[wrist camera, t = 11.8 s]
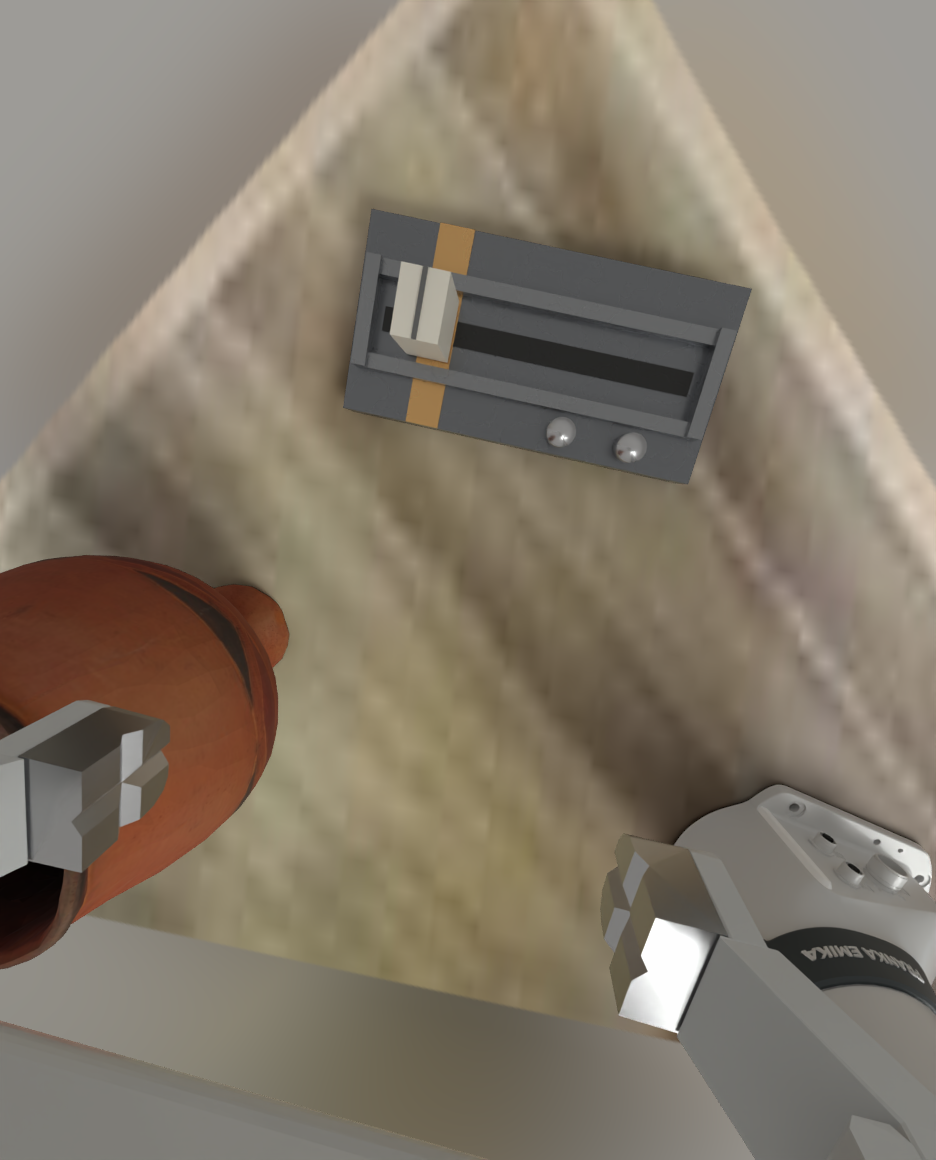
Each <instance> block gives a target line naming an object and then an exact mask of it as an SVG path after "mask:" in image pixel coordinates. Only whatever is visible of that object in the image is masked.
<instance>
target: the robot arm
mask: <svg viewBox="0 0 936 1160" xmlns="http://www.w3.org/2000/svg"><path fill="white" fill-rule="evenodd" d="M169 742H170V725H169V724H168V723H167V722H166V721H164V720H162V719H159V718H155V717H151V716H148V715H144V714H140V713H137V712H133V711H129V710H125V709H122V708H118V707H114V706H109V705H106V704H102V703H98V702H94V701H90V700H78V701H75V702H73V703H71V704H69V705H67V706H65V707H63V708H61V709H59V710H57V711H55V712H53V713H51V714H50V715H48V716H46V717H44V718H42V719H40V720H38V721H36V722H34V723H32V724H30V725H28V726H26V727H24V728H22V729H21V730H19V731H17V732H15V733H13V734H11V735H9V736H7V737H5V738H3V739H1V740H0V877H1V876H4V875H6V874H8V873H10V872H12V871H14V870H16V869H18V868H20V867H22V866H25V865H27V864H28V861H32V862H36V863H40V864H45V865H49V866H54V867H58V868H62V869H67V870H71V871H75V872H80V873H82V872H83V871H84V870H86V869H87V868H88V867H89V866H90V865H91V864H92V863H93V862H94V861H95V860H96V859H97V858H99V857H100V856H101V855H102V854H103V853H104V852H105V851H106V850H107V849H108V848H109V847H111V846H112V845H113V844H114V843H115V842H116V841H117V840H118V837H119V831H120V827H122V826H124V825H127V824H129V823H132V822H134V821H137V820H139V819H141V818H142V817H143V816H144V815H145V814H146V813H147V812H148V811H149V810H150V809H151V808H152V807H153V806H154V804H155V803H156V801H157V800H158V798H159V796H160V795H161V793H162V792H163V790H164V787H165V784H166V781H167V778H168V770H169V763H168V761H167V760H166V758H165V756H164V754H163V753H162V751H161V750H162V749H163V748H164V747H165V746H166V745H167V744H168V743H169ZM793 803H794V804H793ZM791 804H793V805H792V806H790V805H791ZM615 856H616V860H617V864H618V867H616V868H615V869H613V870H612V871H610V872H609V873H607V876H606V879H605V883H604V886H603V889H602V898H601V908H600V909H601V925H602V930H603V936H604V939H605V941H606V942H607V943H608V945H609V946H610V947H611V949H612V950H613V952H614V956H613V958H612V961H611V964H610V967H609V969H610V974H611V979H612V984H613V989H614V994H615V999H616V1005H617V1010H618V1015H619V1016H622V1017H626V1018H629V1019H632V1020H636V1021H639V1022H642V1023H646V1024H649V1025H652V1026H656V1027H659V1028H662V1029H666V1030H669V1031H672V1032H676V1033H678V1035H677V1038H678V1039H679V1041H680V1042H681V1044H682V1045H683V1047H684V1049H685V1050H686V1051H687V1053H688V1055H689V1056H690V1058H691V1059H692V1061H693V1063H694V1064H695V1066H696V1067H697V1069H698V1070H699V1072H700V1074H701V1075H702V1077H703V1078H704V1080H705V1081H706V1083H707V1085H708V1086H709V1088H710V1089H711V1091H712V1092H713V1094H714V1095H715V1097H716V1099H717V1100H718V1102H719V1103H720V1105H721V1106H722V1108H723V1110H724V1111H725V1113H726V1114H727V1116H728V1117H729V1119H730V1120H731V1122H732V1124H733V1125H734V1126H735V1128H736V1130H737V1131H738V1133H739V1135H740V1136H741V1138H742V1139H743V1141H744V1143H745V1144H746V1146H747V1147H748V1149H749V1150H750V1152H751V1153H752V1155H753V1157H754V1158H755V1160H936V995H935V993H934V991H933V989H932V987H931V985H932V983H933V981H934V979H935V977H936V902H935V901H934V900H933V899H932V897H931V896H930V895H929V894H928V893H929V889H930V885H931V879H932V866H931V860H930V857H929V855H928V853H927V852H926V851H925V850H924V849H923V848H922V847H921V846H920V845H919V844H917V843H915V842H913V841H911V840H908V839H906V838H904V837H902V836H899V835H897V834H895V833H892V832H890V831H888V830H886V829H883V828H881V827H879V826H876V825H874V824H872V823H870V822H867V821H865V820H863V819H860V818H858V817H856V816H854V815H851V814H849V813H847V812H844V811H842V810H840V809H838V808H835V807H833V806H831V805H828V804H826V803H824V802H822V801H819V800H817V799H815V798H812V797H810V796H808V795H806V794H803V793H801V792H799V791H796V790H794V789H792V788H790V787H787V786H784V785H774V786H771V787H769V788H767V789H765V790H763V791H762V792H760V793H759V794H757V795H756V796H754V797H753V798H751V799H750V800H748V801H746V802H744V803H741V804H737V805H734V806H730V807H726V808H723V809H720V810H717V811H714V812H712V813H710V814H708V815H706V816H704V817H702V818H701V819H699V820H698V821H696V822H695V823H693V824H692V825H691V826H690V827H689V828H687V829H686V830H685V831H684V832H683V834H682V835H681V836H680V837H679V838H678V840H677V841H676V843H675V844H674V845H670V844H666V843H662V842H658V841H654V840H650V839H645V838H641V837H637V836H633V835H629V834H625V833H624V834H623V835H622V836H621V838H620V839H619V841H618V844H617V846H616V849H615ZM0 1160H489V1159H485V1158H481V1157H478V1156H474V1155H470V1154H467V1153H464V1152H460V1151H457V1150H453V1149H450V1148H446V1147H443V1146H439V1145H436V1144H432V1143H429V1142H425V1141H422V1140H418V1139H414V1138H411V1137H407V1136H404V1135H400V1134H397V1133H393V1132H390V1131H386V1130H383V1129H379V1128H376V1127H372V1126H369V1125H365V1124H361V1123H358V1122H355V1121H351V1120H348V1119H344V1118H340V1117H337V1116H333V1115H330V1114H326V1113H323V1112H319V1111H316V1110H312V1109H308V1108H305V1107H302V1106H298V1105H295V1104H291V1103H288V1102H284V1101H281V1100H277V1099H274V1098H270V1097H267V1096H263V1095H260V1094H256V1093H253V1092H249V1091H246V1090H242V1089H238V1088H234V1087H231V1086H228V1085H224V1084H221V1083H217V1082H214V1081H210V1080H207V1079H203V1078H200V1077H196V1076H193V1075H189V1074H186V1073H182V1072H179V1071H175V1070H172V1069H168V1068H165V1067H161V1066H157V1065H154V1064H150V1063H147V1062H144V1061H140V1060H136V1059H133V1058H129V1057H126V1056H122V1055H119V1054H115V1053H112V1052H108V1051H105V1050H101V1049H98V1048H94V1047H91V1046H87V1045H83V1044H80V1043H76V1042H73V1041H70V1040H66V1039H63V1038H59V1037H56V1036H52V1035H49V1034H45V1033H42V1032H38V1031H35V1030H31V1029H28V1028H24V1027H21V1026H17V1025H14V1024H10V1023H7V1022H3V1021H0Z"/></svg>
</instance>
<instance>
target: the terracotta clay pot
mask: <svg viewBox="0 0 936 1160" xmlns="http://www.w3.org/2000/svg"><path fill="white" fill-rule="evenodd" d="M288 640H289V632H288V628H287V625H286V622H285V619H284V616H283V612H282V610H281V609H280V607H279V606H278V604H277V603H276V602H275V601H274V600H273V599H272V598H270V597H269V596H267V595H266V594H264V593H262V592H260V591H259V590H257V589H255V588H254V587H251V586H243V585H235V584H232V585H227V586H221V587H217V588H212V587H211V586H209V585H207V584H206V583H204V582H203V581H201V580H199V579H197V578H196V577H194V576H192V575H189V574H187V573H185V572H182V571H180V570H178V569H175V568H172V567H169V566H167V565H163V564H159V563H154V562H150V561H144V560H139V559H134V558H128V557H119V556H96V555H82V556H73V557H60V558H53V559H46V560H41V561H37V562H33V563H30V564H26V565H22V566H20V567H17V568H14V569H11V570H8V571H5V572H3V573H0V740H1V739H3V738H5V737H7V736H9V735H11V734H13V733H15V732H17V731H19V730H21V729H22V728H24V727H26V726H28V725H30V724H32V723H34V722H36V721H38V720H40V719H42V718H44V717H46V716H48V715H50V714H51V713H53V712H55V711H57V710H59V709H61V708H63V707H65V706H67V705H69V704H71V703H73V702H75V701H78V700H90V701H94V702H98V703H102V704H106V705H109V706H114V707H118V708H122V709H125V710H129V711H133V712H137V713H140V714H144V715H148V716H151V717H155V718H159V719H162V720H164V721H166V722H167V723H168V724H169V725H170V742H169V743H168V744H167V745H166V746H165V747H164V748H163V749H162V750H161V751H162V753H163V754H164V756H165V758H166V760H167V761H168V763H169V770H168V778H167V781H166V784H165V787H164V790H163V792H162V793H161V795H160V796H159V798H158V800H157V801H156V803H155V804H154V806H153V807H152V808H151V809H150V810H149V811H148V812H147V813H146V814H145V815H144V816H143V817H142V818H141V819H139V820H137V821H134V822H132V823H129V824H127V825H124V826H122V827H120V831H119V837H118V840H117V841H116V842H115V843H114V844H113V845H112V846H111V847H109V848H108V849H107V850H106V851H105V852H104V853H103V854H102V855H101V856H100V857H99V858H97V859H96V860H95V861H94V862H93V863H92V864H91V865H90V866H89V867H88V868H87V869H86V870H84V871H83V872H82V873H80V872H75V871H71V870H67V869H62V868H58V867H54V866H49V865H45V864H40V863H36V862H32V861H28V864H27V865H25V866H22V867H20V868H18V869H16V870H14V871H12V872H10V873H8V874H6V875H4V876H1V877H0V969H5V968H9V967H12V966H15V965H17V964H20V963H23V962H26V961H29V960H31V959H33V958H35V957H37V956H38V955H40V954H41V953H43V952H44V951H46V950H47V949H49V948H50V947H52V946H53V945H54V944H55V943H56V942H57V941H58V940H59V939H60V938H62V937H63V935H64V934H65V933H66V931H67V930H68V928H69V927H70V924H72V923H74V922H75V921H77V920H78V919H80V918H81V917H83V916H85V915H86V914H88V913H89V912H91V911H92V910H94V909H96V908H97V907H99V906H100V905H102V904H103V903H105V902H106V901H108V900H110V899H111V898H113V897H115V896H117V895H119V894H121V893H122V892H124V891H126V890H128V889H130V888H132V887H133V886H135V885H137V884H139V883H141V882H143V881H144V880H146V879H148V878H150V877H152V876H154V875H155V874H157V873H159V872H161V871H162V870H163V869H165V868H166V867H168V866H169V865H170V864H172V863H173V862H175V861H176V860H178V859H179V858H180V857H182V856H183V855H185V854H186V853H187V852H189V851H190V850H192V849H193V848H194V847H196V846H197V845H199V844H200V843H202V842H203V841H204V840H206V839H207V838H208V837H209V836H210V835H211V834H212V833H213V832H214V831H215V830H216V829H217V828H218V827H220V826H221V825H222V824H223V823H224V822H225V821H226V820H227V819H228V818H229V817H230V816H231V815H232V814H233V813H234V812H235V811H237V810H238V809H239V807H240V806H241V805H242V804H243V802H244V801H245V800H246V798H247V797H248V796H249V794H250V793H251V791H252V790H253V789H254V787H255V786H256V784H257V782H258V780H259V779H260V777H261V775H262V773H263V771H264V769H265V767H266V765H267V763H268V760H269V758H270V756H271V753H272V749H273V745H274V741H275V736H276V730H277V725H278V693H277V686H276V678H275V675H274V672H273V669H272V668H273V667H274V666H275V665H276V664H277V663H278V662H279V661H280V660H281V659H282V658H283V655H284V653H285V651H286V648H287V646H288Z"/></svg>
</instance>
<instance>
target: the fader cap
mask: <svg viewBox="0 0 936 1160" xmlns="http://www.w3.org/2000/svg"><path fill="white" fill-rule="evenodd" d="M458 305H459V299H458V295H457V292H456V288H455V285H454V281H453V277H452V274H451V272H449V271H445V270H440V269H435V268H431V267H428V266H425V265H423V266H421V265H416V264H412V263H407V262H402V261H401V267H400V273H399V279H398V285H397V291H396V298H395V304H394V310H393V316H392V323H391V329H390V335H391V336H392V338H393V339H394V340H395V341H396V342H397V343H398V345H399V346H400V347H401V348H402V349H403V350H404V352H405V353H406V354H409V355H414V356H418V357H423V358H427V359H432V360H437V361H441V362H446V363H448V358H449V353H450V347H451V342H452V337H453V332H454V326H455V321H456V316H457V311H458Z"/></svg>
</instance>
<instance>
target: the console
mask: <svg viewBox="0 0 936 1160" xmlns="http://www.w3.org/2000/svg"><path fill="white" fill-rule="evenodd" d="M401 261H402V262H407V263H412V264H416V265H421V266H423V265H425V266H428V267H431V268H435V269H440V270H445V271H449V272H451V274H452V277H453V281H454V285H455V288H456V292H457V295H458V299H459V305H458V311H457V316H456V321H455V326H454V332H453V337H452V342H451V347H450V353H449V358H448V363H446V362H441V361H437V360H432V359H427V358H423V357H418V356H414V355H409V354H406V353H405V352H404V350H403V349H402V348H401V347H400V346H399V345H398V343H397V342H396V341H395V340H394V339H393V338H392V336H391V335H390V329H391V323H392V316H393V310H394V304H395V298H396V291H397V285H398V279H399V273H400V267H401ZM751 290H752V289H750V288H745V287H740V286H736V285H731V284H726V283H721V282H717V281H712V280H707V279H702V278H698V277H693V276H688V275H683V274H679V273H674V272H669V271H664V270H660V269H655V268H650V267H645V266H641V265H636V264H631V263H626V262H622V261H617V260H612V259H607V258H603V257H598V256H593V255H588V254H584V253H579V252H574V251H569V250H565V249H560V248H555V247H550V246H546V245H541V244H536V243H531V242H527V241H522V240H517V239H512V238H508V237H503V236H498V235H493V234H489V233H484V232H479V231H475V230H474V229H469V228H464V227H460V226H455V225H450V224H445V223H441V222H440V223H437V222H432V221H427V220H422V219H418V218H413V217H408V216H403V215H399V214H394V213H389V212H384V211H380V210H375V209H372V211H371V217H370V224H369V231H368V238H367V245H366V252H365V259H364V266H363V273H362V280H361V287H360V294H359V301H358V308H357V315H356V322H355V329H354V336H353V343H352V350H351V357H350V364H349V371H348V378H347V385H346V392H345V399H344V406H343V408H346V409H348V410H351V411H353V412H358V413H362V414H367V415H371V416H376V417H380V418H385V419H389V420H394V421H398V422H403V423H407V424H412V425H416V426H421V427H425V428H430V429H434V430H439V431H443V432H448V433H452V434H457V435H461V436H466V437H470V438H474V439H479V440H483V441H488V442H492V443H497V444H501V445H506V446H510V447H515V448H519V449H524V450H528V451H533V452H537V453H542V454H546V455H551V456H555V457H560V458H564V459H569V460H573V461H578V462H582V463H587V464H591V465H596V466H600V467H605V468H609V469H614V470H618V471H623V472H627V473H632V474H636V475H641V476H645V477H650V478H654V479H659V480H663V481H668V482H672V483H678V484H688V483H689V480H690V477H691V474H692V471H693V467H694V464H695V461H696V458H697V455H698V452H699V449H700V446H701V443H702V440H703V437H704V434H705V431H706V428H707V425H708V421H709V418H710V415H711V412H712V409H713V406H714V403H715V400H716V397H717V394H718V391H719V388H720V385H721V382H722V379H723V375H724V372H725V369H726V366H727V363H728V360H729V357H730V354H731V351H732V348H733V345H734V342H735V339H736V336H737V333H738V329H739V326H740V323H741V320H742V317H743V314H744V311H745V308H746V305H747V302H748V299H749V296H750V293H751Z"/></svg>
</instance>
